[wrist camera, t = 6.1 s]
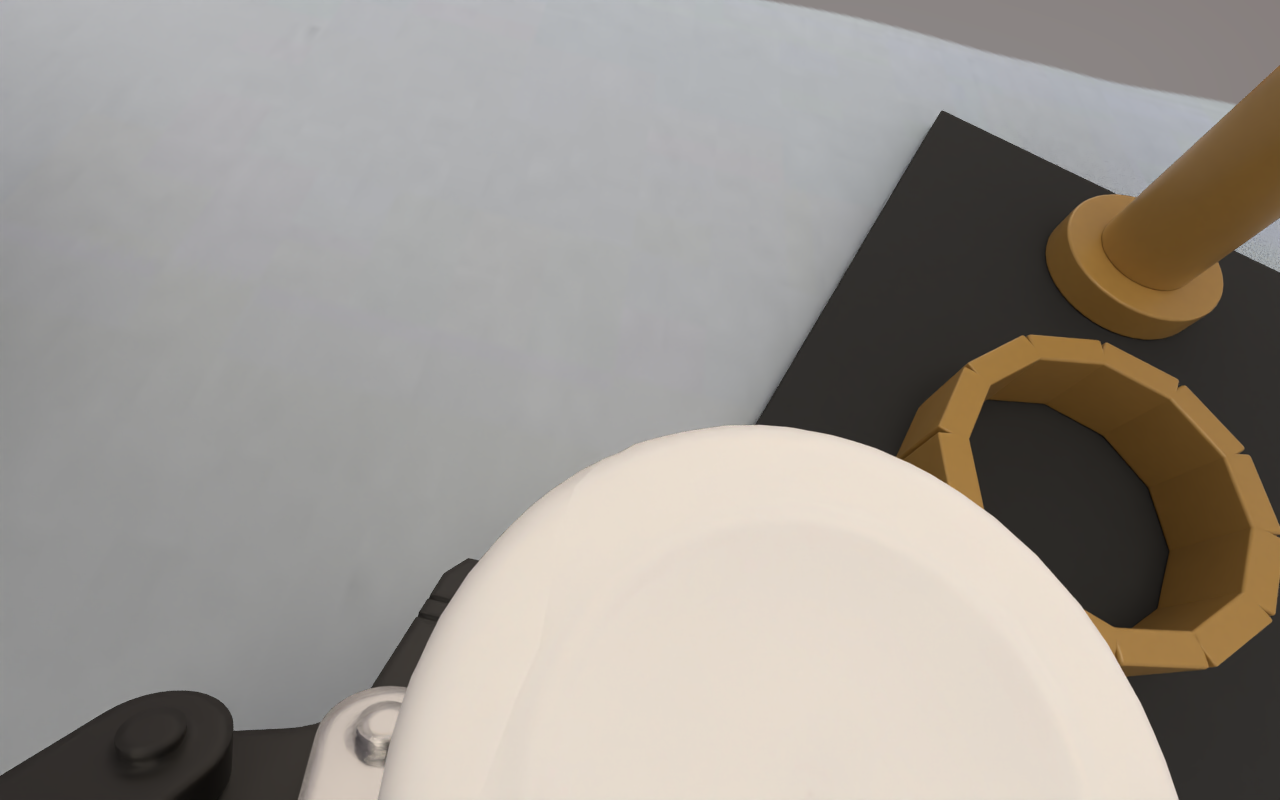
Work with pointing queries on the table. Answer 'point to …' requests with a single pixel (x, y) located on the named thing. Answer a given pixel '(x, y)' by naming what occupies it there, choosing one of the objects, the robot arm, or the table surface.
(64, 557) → the table surface
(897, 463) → the sprinkles bottle
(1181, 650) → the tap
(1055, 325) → the drip mat
